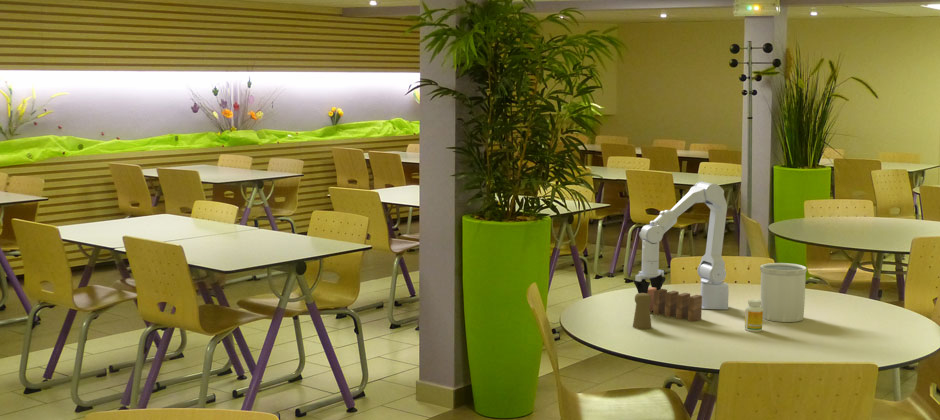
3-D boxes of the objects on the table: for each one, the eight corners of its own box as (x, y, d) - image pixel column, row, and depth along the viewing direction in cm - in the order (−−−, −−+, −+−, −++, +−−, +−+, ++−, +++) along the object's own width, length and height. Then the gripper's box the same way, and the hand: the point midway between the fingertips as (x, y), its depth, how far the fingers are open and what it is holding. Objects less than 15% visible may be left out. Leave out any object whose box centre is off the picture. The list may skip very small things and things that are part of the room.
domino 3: (677, 314, 336) (678, 291, 335) (669, 317, 332) (670, 293, 331) (672, 313, 337) (673, 290, 336) (664, 316, 333) (665, 292, 332)
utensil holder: (750, 317, 331) (752, 266, 329) (770, 310, 342) (772, 260, 340) (792, 325, 321) (794, 272, 319) (811, 317, 332) (814, 266, 330)
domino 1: (655, 310, 342) (656, 287, 341) (647, 313, 338) (648, 290, 337) (650, 309, 343) (651, 287, 342) (642, 312, 339) (643, 289, 338)
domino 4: (689, 316, 333) (690, 293, 332) (681, 319, 329) (682, 295, 328) (684, 315, 334) (685, 292, 333) (676, 318, 330) (677, 294, 329)
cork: (652, 325, 320) (653, 292, 319) (650, 330, 314) (650, 296, 313) (634, 324, 322) (635, 291, 321) (631, 328, 316) (631, 294, 315)
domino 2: (666, 312, 339) (667, 289, 338) (658, 314, 335) (659, 291, 334) (661, 311, 340) (662, 288, 339) (653, 314, 337) (654, 290, 336)
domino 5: (701, 319, 329) (702, 295, 328) (693, 321, 326) (694, 297, 325) (696, 318, 331) (696, 294, 330) (688, 320, 327) (688, 296, 326)
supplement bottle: (741, 328, 317) (742, 299, 315) (755, 327, 318) (756, 298, 317) (751, 332, 311) (752, 302, 310) (765, 331, 313) (766, 301, 312)
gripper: (652, 256, 346) (651, 294, 348) (628, 261, 336) (627, 300, 338) (669, 258, 342) (668, 297, 343) (645, 263, 331) (644, 303, 333)
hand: (649, 299), depth 340 cm, fingers open, 7 cm apart
